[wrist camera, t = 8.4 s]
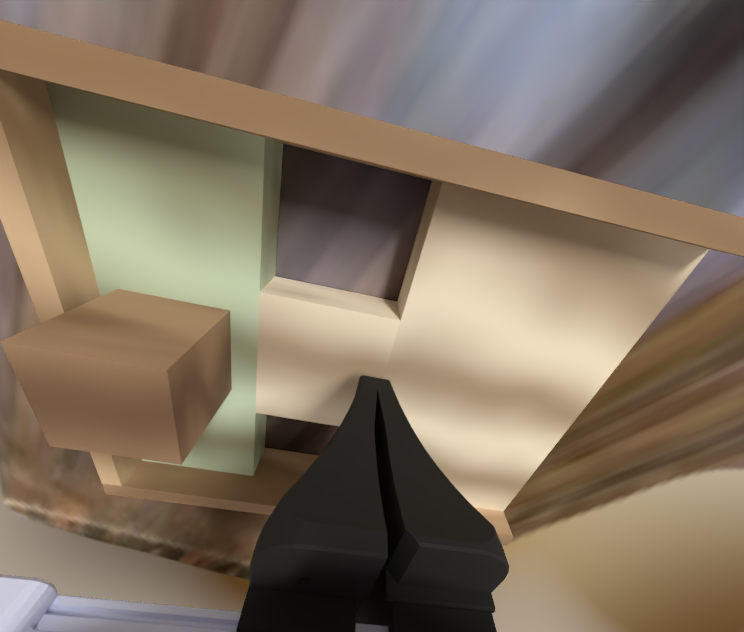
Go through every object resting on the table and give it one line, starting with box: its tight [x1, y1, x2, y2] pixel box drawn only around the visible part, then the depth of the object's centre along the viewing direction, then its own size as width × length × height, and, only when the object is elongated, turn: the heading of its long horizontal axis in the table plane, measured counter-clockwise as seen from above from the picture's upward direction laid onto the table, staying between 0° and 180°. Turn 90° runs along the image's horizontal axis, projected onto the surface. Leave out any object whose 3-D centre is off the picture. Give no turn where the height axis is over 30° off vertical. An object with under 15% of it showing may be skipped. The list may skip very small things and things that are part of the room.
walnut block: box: [0, 289, 232, 465], centre depth 11 cm, size 4×4×4 cm
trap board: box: [0, 20, 744, 545], centre depth 13 cm, size 20×24×4 cm
